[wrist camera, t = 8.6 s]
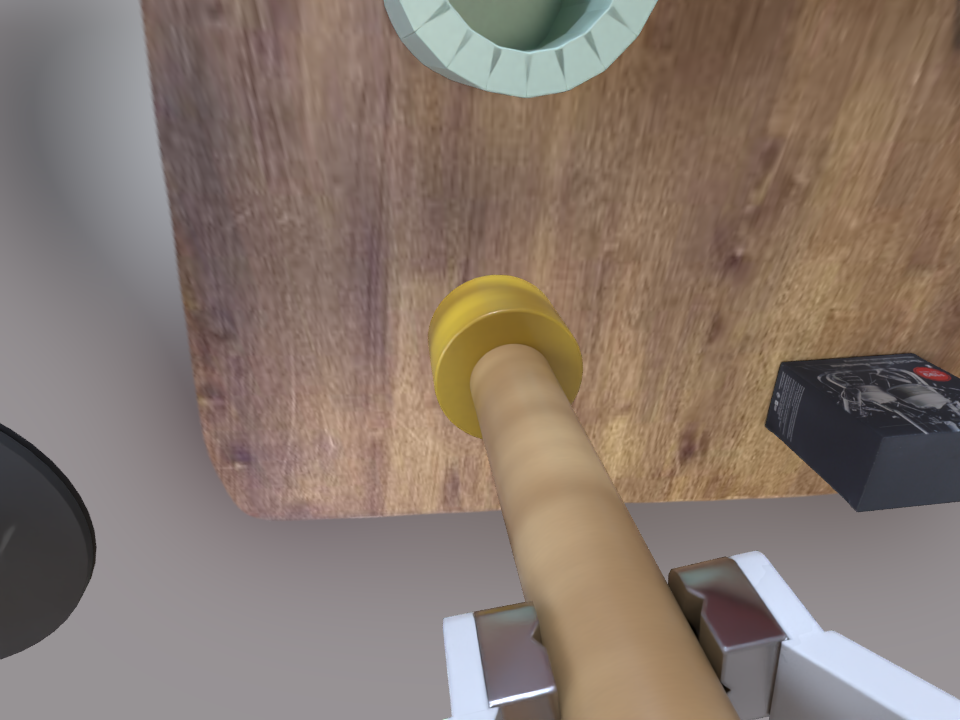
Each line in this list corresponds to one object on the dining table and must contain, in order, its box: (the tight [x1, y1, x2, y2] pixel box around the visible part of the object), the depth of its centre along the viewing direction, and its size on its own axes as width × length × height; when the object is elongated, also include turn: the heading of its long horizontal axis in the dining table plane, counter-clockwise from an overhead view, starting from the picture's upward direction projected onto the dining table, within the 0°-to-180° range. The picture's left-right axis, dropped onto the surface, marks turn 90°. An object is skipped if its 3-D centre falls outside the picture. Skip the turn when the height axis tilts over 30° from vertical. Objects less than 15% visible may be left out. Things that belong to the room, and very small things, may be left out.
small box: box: [765, 353, 960, 512], centre depth 48 cm, size 13×7×12 cm, turn 90°
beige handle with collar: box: [428, 275, 740, 720], centre depth 13 cm, size 4×4×16 cm
